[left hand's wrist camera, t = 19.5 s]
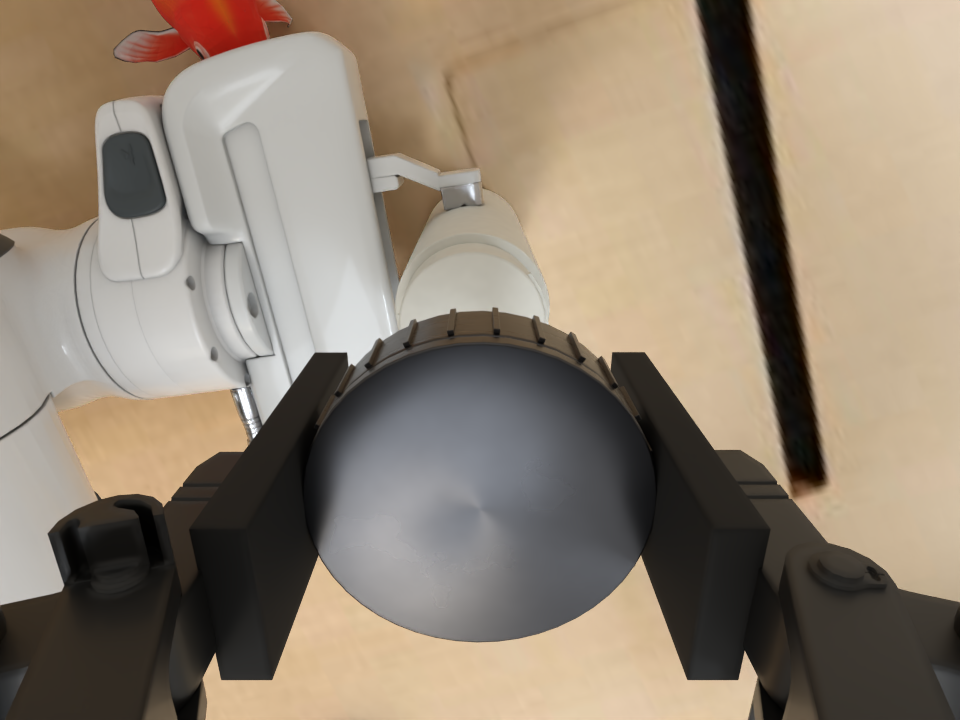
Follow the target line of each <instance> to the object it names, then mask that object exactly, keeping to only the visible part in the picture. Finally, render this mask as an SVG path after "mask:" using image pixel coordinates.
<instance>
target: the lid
mask: <svg viewBox="0 0 960 720" xmlns="http://www.w3.org/2000/svg"><path fill="white" fill-rule="evenodd" d="M334 395H335V396H334ZM334 395H331V397H330V399H329V400H328V402H327V404H326V406H325V408H324V410H323V411H322V413H321V415H320V417H319V419H318V421H317V423H316V425H315V427H314V429H316V430H318V431H317V433H316V435H315V437H314V439H313V442H312V444H311V446H310V449H309V453H308V456H307V459H306V463H305V467H304V475H303V483H302V491H303V502H304V510H305V517H306V524H307V528H308V531H309V534H310V537H311V540H312V543H313V545H314V547H315V549H316V551H317V553H318V555H319V556H320V558H321V560H322V562H323V563H324V565H325V566H326V568H327V569H328V570H329V572H330V573H331V575H332V576H333V577H334V578H335V580H336V581H337V582H338V583H339V584H340V585H341V586H342V587H343V588H344V589H345V590H346V592H348V593H349V594H350V595H351V596H352V597H354V598H355V599H356V600H357V601H358V602H359V603H361V604H362V605H363V606H365V607H366V608H368V609H369V610H371V611H372V612H374V613H375V614H377V615H378V616H380V617H382V618H384V619H386V620H388V621H390V622H392V623H394V624H396V625H398V626H401V627H403V628H406V629H409V630H411V631H414V632H417V633H420V634H424V635H428V636H432V637H435V638H441V639H447V640H453V641H465V642H498V641H505V640H512V639H519V638H523V637H527V636H532V635H536V634H539V633H542V632H545V631H548V630H551V629H554V628H556V627H559V626H561V625H563V624H565V623H567V622H569V621H571V620H573V619H576V618H577V617H579V616H581V615H582V614H584V613H585V612H587V611H589V610H590V609H592V608H593V607H595V606H596V605H597V604H598V603H600V602H601V601H602V600H603V599H605V598H606V597H607V596H609V595H610V594H611V593H612V592H613V591H614V590H615V589H616V588H617V587H618V585H619V584H620V583H621V582H622V581H623V580H624V579H625V578H626V576H627V575H628V574H629V572H630V571H631V570H632V568H633V567H634V566H635V564H636V562H637V561H638V559H639V557H640V555H641V554H642V552H643V550H644V548H645V546H646V543H647V541H648V538H649V535H650V533H651V530H652V526H653V520H654V514H655V506H656V497H657V479H656V469H655V465H654V461H653V457H652V455H653V450H652V448H651V447H650V445H649V443H648V441H647V439H646V437H645V435H644V433H643V431H642V429H641V427H640V425H639V424H638V422H637V421H639V420H641V417H640V415H639V413H638V411H637V410H636V408H635V406H634V404H633V402H632V400H631V399H630V397H629V395H628V393H627V391H626V389H625V388H624V386H622V387H620V388H619V386H618V384H617V382H616V380H615V378H614V376H613V374H612V372H611V371H610V369H609V367H608V365H607V363H606V361H605V359H604V358H603V357H602V356H601V357H600V358H597V357H596V356H595V355H594V354H592V353H591V352H590V351H589V350H588V349H587V348H586V347H585V346H584V345H582V344H581V343H579V342H578V340H577V337H576V335H575V334H574V333H572V332H570V334H569V335H567V334H566V333H564V332H562V331H560V330H558V329H556V328H554V327H552V326H550V325H548V324H545V323H542V322H540V319H539V317H538V316H535V315H533V318H532V319H531V318H528V317H524V316H520V315H515V314H510V313H505V312H499V311H498V308H496V307H492V311H465V312H457V311H456V308H455V309H450V314H444V315H439V316H435V317H432V318H429V319H426V320H422V321H419V322H417V321H416V319H413V320H411V321H410V323H409V326H408V327H406V328H403V329H401V330H399V331H397V332H396V333H394V334H393V335H391V336H389V337H388V338H386V339H385V340H383V341H382V340H381V338H379V339H377V340H376V341H375V343H374V345H373V347H372V349H371V350H370V351H369V352H368V353H367V354H366V355H365V356H364V357H363V358H362V359H361V360H360V361H359V362H358V363H357V364H356V366H354V365H353V364H351V365H350V366H349V367H348V369H347V371H346V373H345V374H344V376H343V378H342V380H341V382H340V384H339V386H338V388H337V389H336V391H335V393H334Z"/></svg>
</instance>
